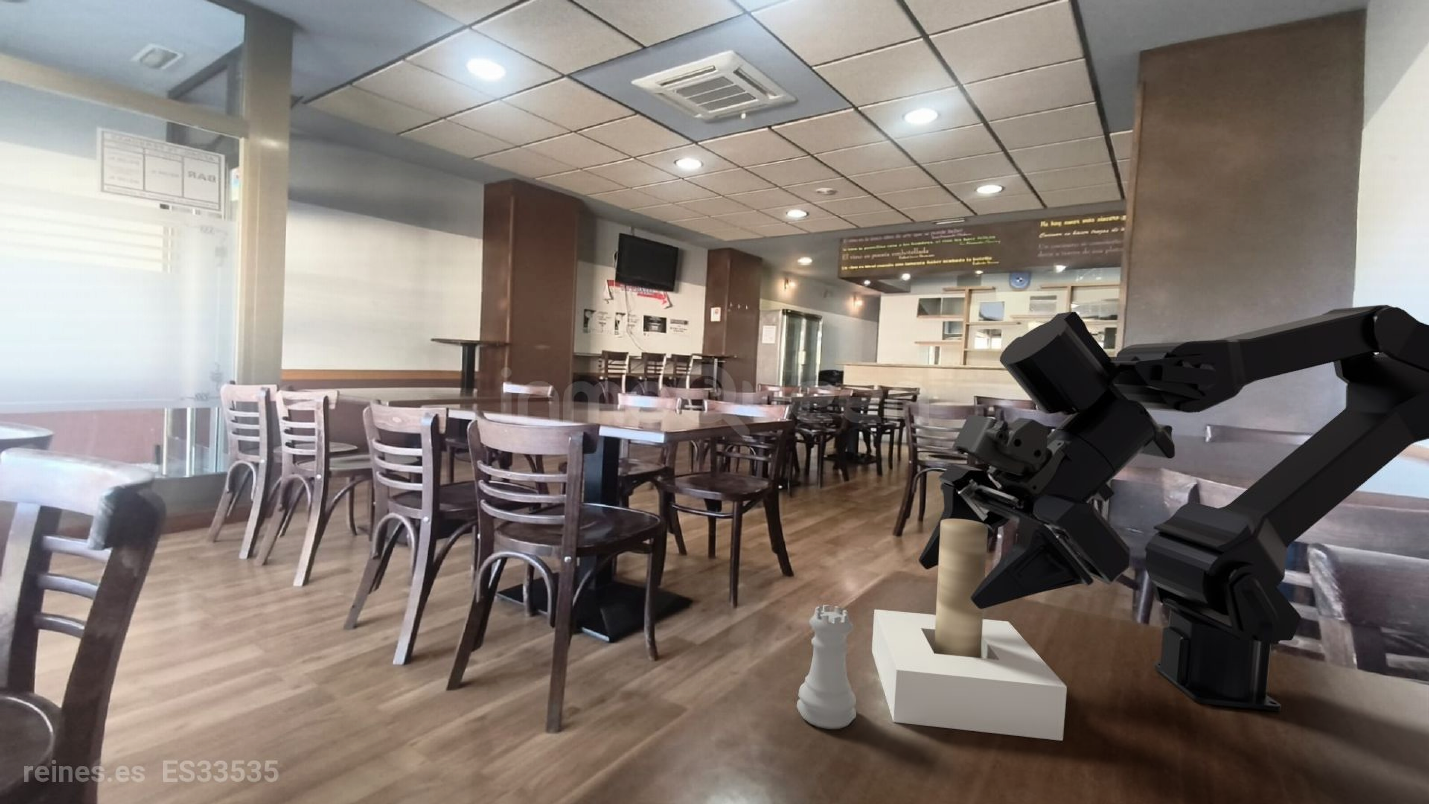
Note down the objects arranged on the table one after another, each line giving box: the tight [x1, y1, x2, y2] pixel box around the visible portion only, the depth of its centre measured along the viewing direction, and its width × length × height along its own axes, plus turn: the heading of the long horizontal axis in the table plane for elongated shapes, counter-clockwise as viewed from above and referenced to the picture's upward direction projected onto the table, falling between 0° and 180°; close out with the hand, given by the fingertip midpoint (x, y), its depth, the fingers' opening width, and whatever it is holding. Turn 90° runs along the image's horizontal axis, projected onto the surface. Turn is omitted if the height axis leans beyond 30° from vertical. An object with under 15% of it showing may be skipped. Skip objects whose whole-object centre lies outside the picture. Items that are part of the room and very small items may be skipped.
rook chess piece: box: [796, 604, 857, 730], centre depth 47 cm, size 4×4×8 cm
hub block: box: [871, 609, 1068, 741], centre depth 51 cm, size 12×12×4 cm
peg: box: [934, 519, 988, 658], centre depth 51 cm, size 4×4×13 cm
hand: (946, 583), depth 51 cm, fingers open, 9 cm apart
